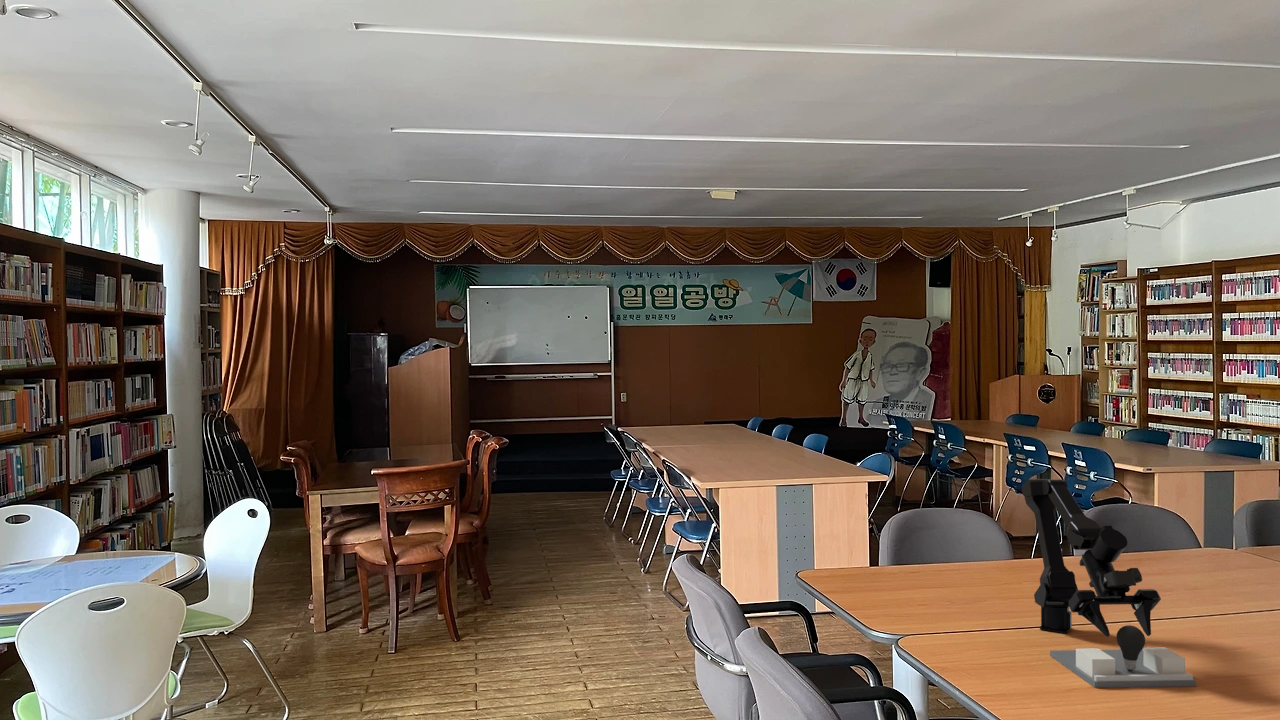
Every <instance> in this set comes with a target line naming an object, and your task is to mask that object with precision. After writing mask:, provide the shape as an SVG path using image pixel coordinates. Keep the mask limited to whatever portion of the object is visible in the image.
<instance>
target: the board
mask: <svg viewBox="0 0 1280 720" xmlns="http://www.w3.org/2000/svg"><path fill="white" fill-rule="evenodd" d="M1049 656H1050V657H1051V658H1052V659H1054V660H1055V661H1057V662H1059V664H1061V665H1062V666H1064V667H1065V668H1066V669H1067V670H1069V671H1071V673H1074V674H1075V675H1077V676H1078V677H1079V678H1081V679H1082V680H1083V681H1085V682H1086V683H1088V684H1089V685H1090V684H1091V685H1090V686H1092V687H1093V688H1095V689H1097V688H1099V689H1100V688H1150V687H1151V688H1152V687H1153V688H1154V687H1155V688H1158V687H1159V688H1161V687H1162V688H1163V687H1164V688H1165V687H1166V688H1167V687H1197V680H1196V679H1194V675H1193V674H1191V673H1186V658H1185V657H1184V656H1182V655H1180V654H1178V652H1174V651H1173V650H1170V648H1167V647H1164V646H1163V647H1144V648H1143V649H1142V650H1141V652H1140V653H1139V655H1138V659H1137V662H1136V669H1134V670H1132V671H1128V670H1127V669H1126V668H1125V667H1124V658H1123V654H1122V651H1121V649H1099V648H1098V647H1097V648H1094V647H1092V648H1090V647H1089V648H1075V650H1073V649H1071V650H1068V649H1067V650H1065V649H1062V650H1059V649H1058V650H1049Z"/></svg>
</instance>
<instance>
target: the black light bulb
mask: <svg viewBox="0 0 1280 720" xmlns="http://www.w3.org/2000/svg"><path fill="white" fill-rule="evenodd" d="M1144 634H1145V633H1143V630H1141V629H1140V628H1138V627H1136V626H1134V625H1130V624H1129V625H1128V624H1127V625H1124V626H1122V627H1120V628H1119V629H1118V631H1117V632H1116V636H1115V638H1116V642H1117V645H1118V646H1119V647H1118V648H1119V650H1121V651H1122V654H1123V658H1124V667H1125V668H1126V669H1127V670H1128V671H1132V670H1134V669H1136V662H1137V659H1138V655H1139V653H1140V652H1141V650H1143V648H1145V645H1146V637H1145V635H1144Z"/></svg>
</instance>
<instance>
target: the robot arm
mask: <svg viewBox="0 0 1280 720" xmlns="http://www.w3.org/2000/svg"><path fill="white" fill-rule="evenodd" d="M1021 493H1022V496H1023V497H1024V501H1025V504H1026V506H1027V507H1028V508H1029V509H1030V510H1031V511H1032V512H1033V514H1034V519H1035V525H1036V531H1037V535H1038V536H1037V537H1038V541H1039V547H1040V550H1041V551H1040V552H1041V557H1042V563H1043V571H1042V573H1041V574H1040V577H1039V583H1040V584H1039V586H1038V588H1037V589H1036V591H1035V592H1034V594H1033V598H1034V603H1035V604H1037V605H1038V606H1040V622H1041V623H1040V627H1039V630H1042V631H1048V632H1054V633H1059V634H1068V633H1069V631H1070V630H1071V629H1072V625H1073V623H1072V618H1073V617H1072V615H1073V614H1072V613H1077V615H1078V616H1081V617H1084V619H1086V620H1087V621H1088V622H1090V623H1091V624H1092V625H1093V626H1094V627H1096V629H1098V630H1099V632H1101V633H1102V634H1103V635H1104V636H1105V637H1109V636H1110V635H1111V634H1110V630H1109V627H1108V625H1107V623H1106V621H1105V618H1104V615H1103V614H1102V612H1101V611H1102V610H1101V605H1102V606H1103V605H1105V606H1107V605H1110V606H1112V605H1113V606H1114V605H1130V606H1131V608H1132V610H1134V612H1133V615H1134V616H1135V619H1136V620H1137V622H1138V624H1139V625H1140V626H1141V629H1142V632H1144V634H1145V635H1146V636H1147V637H1150V636H1151V635H1152V629H1151V628H1152V626H1151V624H1152V623H1151V613H1152V611H1153V610H1154V608H1155V607H1156V605H1158V604H1159V602H1160V601H1161V600H1162V598H1161V596H1160V594H1159V592H1158V591H1157V590H1156V589H1152V588H1149V589H1146V588H1145V589H1144V588H1142V589H1137V591H1136V592H1135V593H1134V594H1133V595H1130V594H1128V595H1127V594H1126V593H1129V592H1130V590H1131V588H1130V587H1132V586H1133V587H1135V586H1137V584H1138V583H1141V582H1142V581H1143V577H1142V573H1141V571H1140V569H1139V568H1138V567H1130V568H1127V569H1126V570H1115V567H1114V565H1113V563H1114V562H1116V561H1117V560H1118V559H1119V557H1120V555H1121V554H1122V552H1124V550H1125V549H1126V547H1127V546H1128V540H1127V537H1126V536H1125V535H1124V534H1123V533H1122V532H1121V531H1118V530H1117V529H1114V528H1113V526H1112V525H1111V524H1105V525H1102V526H1100V525H1099V524H1098V523H1097V522H1096V520H1094V519H1092V518H1089V517H1088V516H1087V515H1086V514H1085V513H1084V512H1083V510H1082V508H1081V507H1080V505H1079V504H1078V502H1077V501H1076V499H1075V498H1074V496H1073V494H1072V493H1071V491H1070V489H1068V484H1067V482H1066V480H1063V479H1052V478H1032V479H1031V478H1028V479H1026V480H1025V482H1024V483H1022V485H1021ZM1055 509H1056V511H1057V513H1058V514H1059V515H1060V517H1061V519H1062V520H1063V522H1064V524H1065V526H1066V529H1067V530H1066V533H1065V535H1066V538H1067V541H1068V543H1069V545H1070V546H1071V548H1072V549H1074V551H1075V550H1077V551H1078V550H1079V551H1082V550H1083V551H1085V552H1084V553H1083V554H1081V559H1080V560H1079V566H1080V567H1084V568H1085V570H1086V571H1087V574H1088V577H1089V579H1090V581H1089V583H1088V585H1089V587H1090V588H1093V589H1094V590H1092V589H1079V588H1078V585H1077V582H1076V576H1075V573H1074V572H1073V571H1071V570H1069V569H1068V568H1067V566H1065V562H1064V557H1063V551H1062V547H1061V541H1060V536H1059V530H1058V525H1057V521H1056V515H1055Z"/></svg>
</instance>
